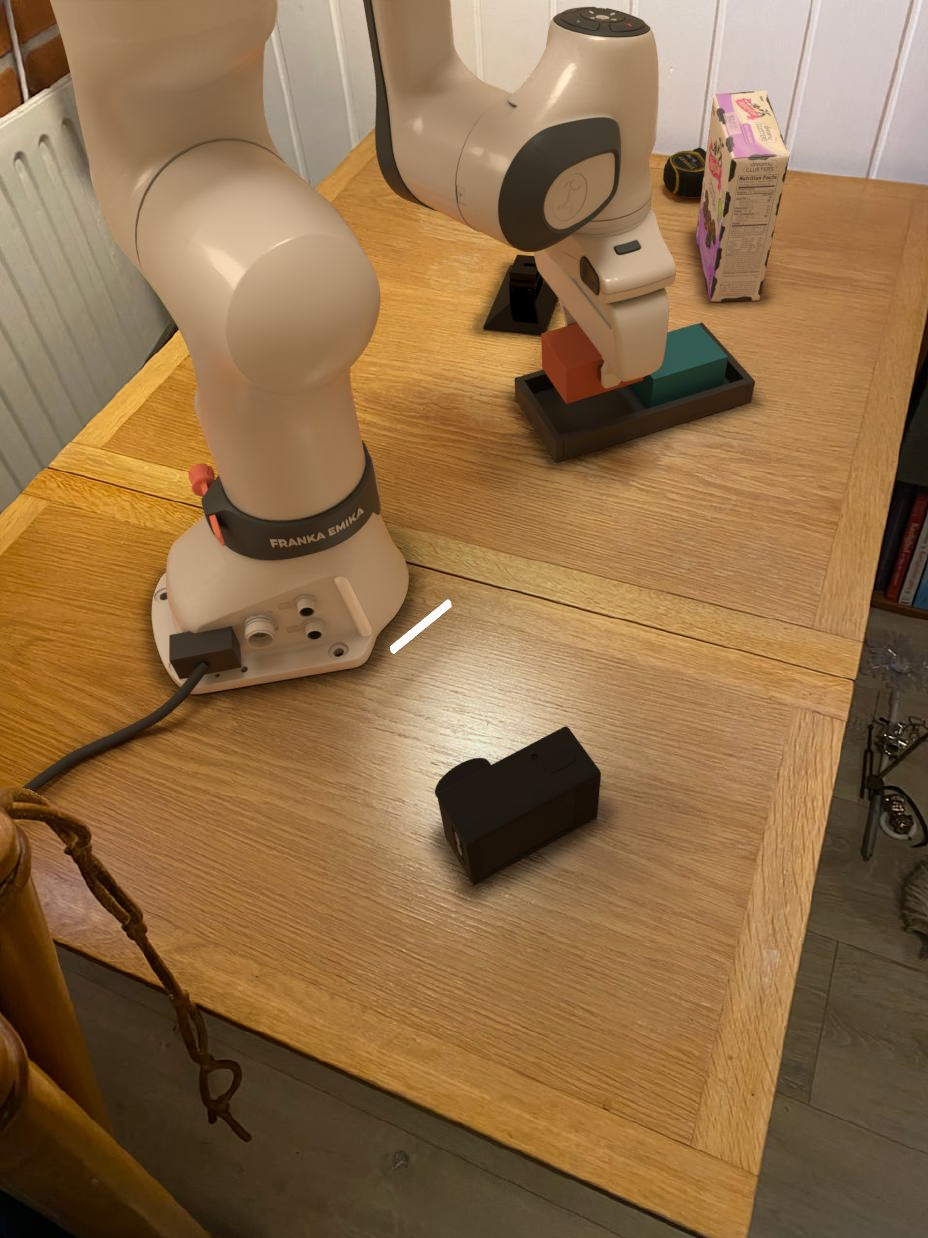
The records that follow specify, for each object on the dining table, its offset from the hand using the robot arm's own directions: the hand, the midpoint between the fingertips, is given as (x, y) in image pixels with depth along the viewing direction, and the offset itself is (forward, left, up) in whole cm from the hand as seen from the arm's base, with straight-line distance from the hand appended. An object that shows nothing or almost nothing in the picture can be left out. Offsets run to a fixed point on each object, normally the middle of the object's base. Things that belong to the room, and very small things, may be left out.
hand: (592, 360), depth 91 cm
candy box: (+24, +16, -7) cm, 30 cm away
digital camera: (-24, -39, -7) cm, 46 cm away
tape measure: (+30, +33, -7) cm, 45 cm away
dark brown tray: (+4, 0, -6) cm, 8 cm away
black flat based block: (+1, +20, -7) cm, 21 cm away
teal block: (+9, 0, -6) cm, 11 cm away
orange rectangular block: (0, 0, -2) cm, 2 cm away
